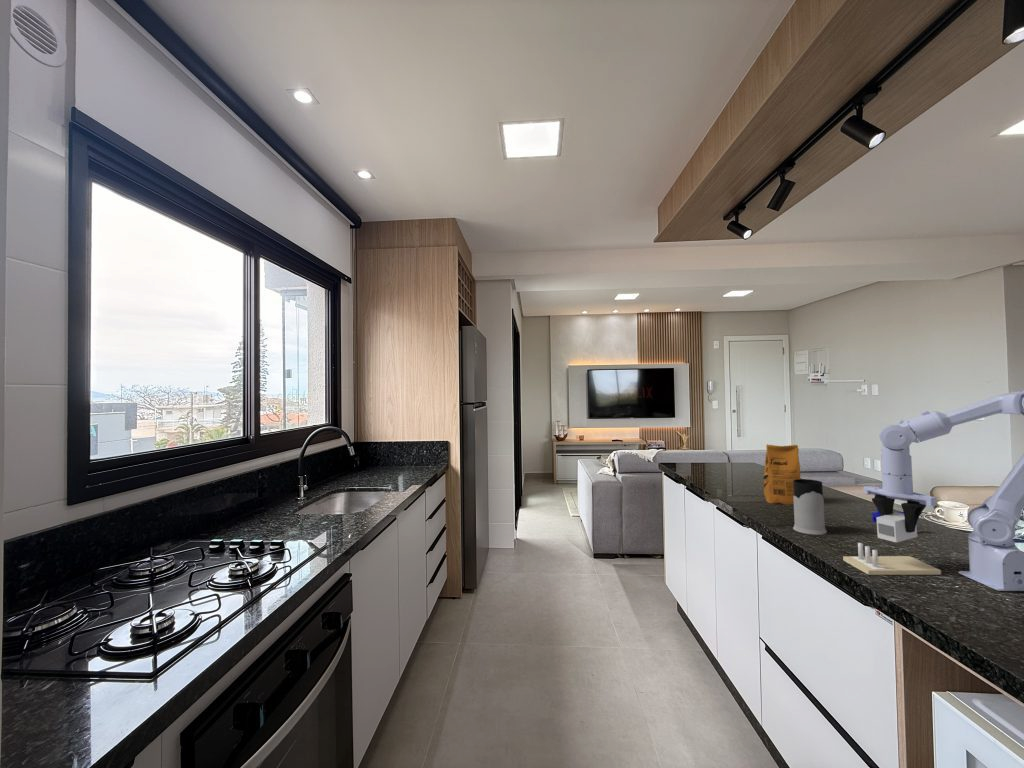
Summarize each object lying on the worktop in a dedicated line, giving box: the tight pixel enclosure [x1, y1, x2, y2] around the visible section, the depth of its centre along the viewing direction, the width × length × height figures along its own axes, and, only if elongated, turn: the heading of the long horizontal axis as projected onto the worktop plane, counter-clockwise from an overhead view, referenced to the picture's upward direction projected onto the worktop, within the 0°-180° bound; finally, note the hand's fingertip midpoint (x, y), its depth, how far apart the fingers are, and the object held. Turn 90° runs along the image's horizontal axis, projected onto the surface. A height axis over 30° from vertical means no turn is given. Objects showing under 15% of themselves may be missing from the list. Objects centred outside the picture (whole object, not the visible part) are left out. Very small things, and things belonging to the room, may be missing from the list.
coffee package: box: [762, 443, 801, 506], centre depth 173 cm, size 10×12×22 cm
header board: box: [842, 542, 942, 576], centre depth 110 cm, size 9×16×5 cm, turn 86°
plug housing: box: [876, 512, 925, 543], centre depth 112 cm, size 4×14×5 cm, turn 110°
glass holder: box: [792, 478, 828, 536], centre depth 142 cm, size 9×14×15 cm, turn 167°
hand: (899, 529), depth 111 cm, fingers closed on plug housing, 4 cm apart
